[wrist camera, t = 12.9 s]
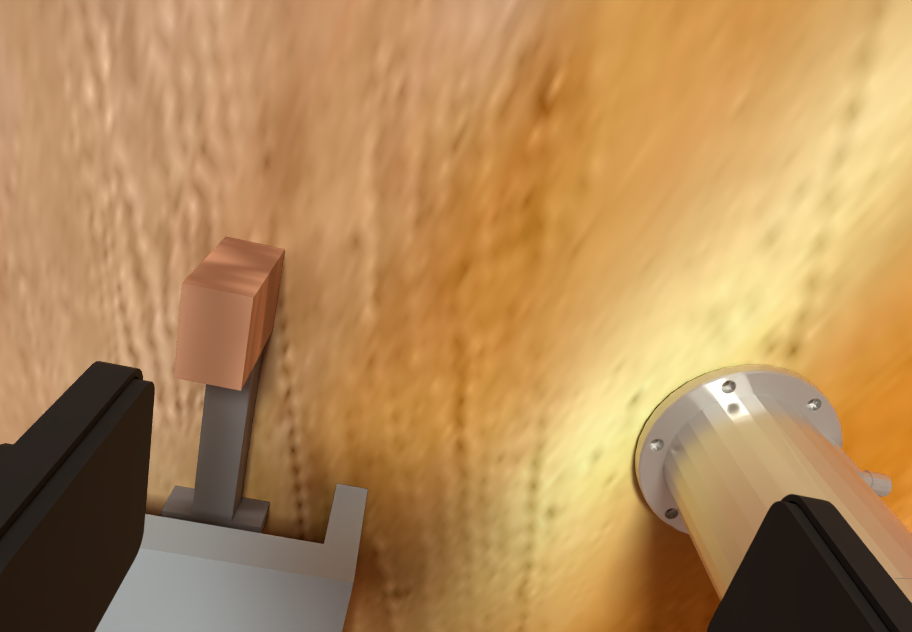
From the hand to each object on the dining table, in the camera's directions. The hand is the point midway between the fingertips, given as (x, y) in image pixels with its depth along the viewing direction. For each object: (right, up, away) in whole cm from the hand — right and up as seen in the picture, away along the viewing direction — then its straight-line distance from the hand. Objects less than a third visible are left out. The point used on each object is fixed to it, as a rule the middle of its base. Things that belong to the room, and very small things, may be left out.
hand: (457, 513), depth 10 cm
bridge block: (-15, -10, +35) cm, 39 cm away
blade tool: (-13, -1, +31) cm, 34 cm away
